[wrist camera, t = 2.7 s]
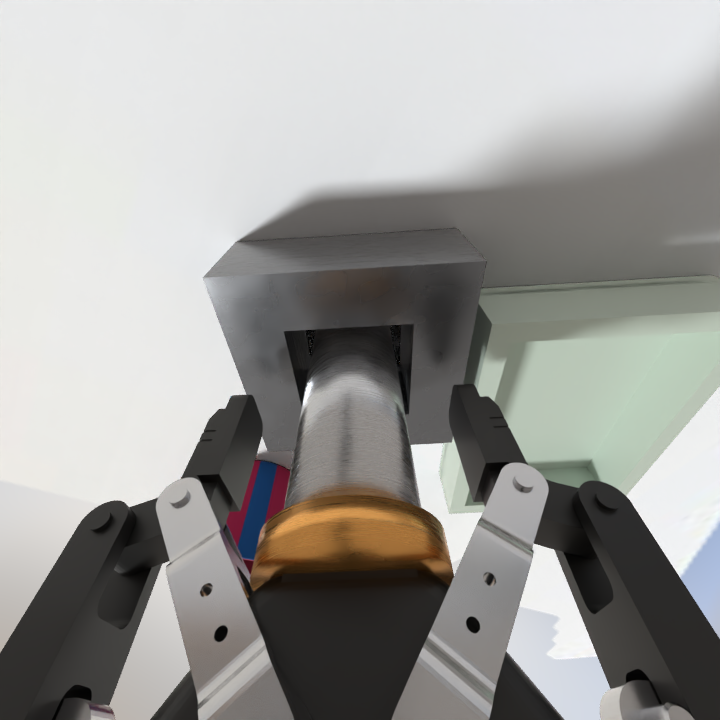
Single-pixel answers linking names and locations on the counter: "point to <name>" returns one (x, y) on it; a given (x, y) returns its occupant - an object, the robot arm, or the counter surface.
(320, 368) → the pin
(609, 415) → the tray
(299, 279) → the block
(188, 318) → the counter surface
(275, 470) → the mug
